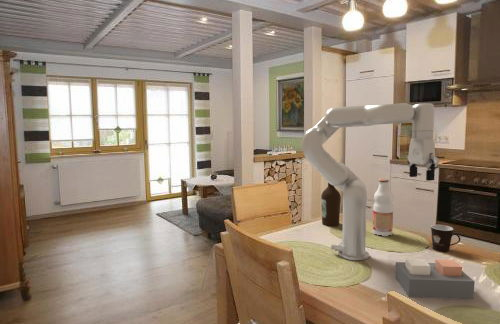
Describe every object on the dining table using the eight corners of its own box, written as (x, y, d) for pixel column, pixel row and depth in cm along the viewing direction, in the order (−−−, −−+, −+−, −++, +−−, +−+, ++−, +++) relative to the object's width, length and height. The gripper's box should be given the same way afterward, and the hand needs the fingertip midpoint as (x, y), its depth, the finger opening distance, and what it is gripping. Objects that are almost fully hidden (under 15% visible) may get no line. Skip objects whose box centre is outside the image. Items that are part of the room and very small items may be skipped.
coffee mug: (425, 246, 158) (426, 225, 157) (443, 245, 159) (445, 224, 158) (442, 256, 147) (443, 233, 146) (461, 255, 148) (462, 232, 146)
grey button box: (408, 296, 113) (409, 279, 113) (395, 277, 127) (395, 262, 127) (473, 299, 111) (474, 281, 111) (452, 279, 125) (453, 263, 125)
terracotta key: (442, 279, 116) (443, 266, 115) (434, 271, 122) (435, 259, 121) (461, 279, 115) (462, 266, 115) (452, 272, 121) (453, 259, 120)
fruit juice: (381, 237, 171) (383, 181, 168) (368, 232, 179) (370, 178, 176) (396, 235, 174) (398, 180, 171) (383, 230, 183) (384, 177, 180)
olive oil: (336, 220, 201) (337, 178, 198) (343, 226, 190) (343, 181, 187) (318, 221, 200) (319, 178, 197) (324, 227, 189) (324, 181, 186)
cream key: (411, 278, 117) (411, 265, 116) (405, 270, 123) (405, 258, 122) (429, 278, 116) (430, 266, 116) (422, 271, 122) (423, 259, 122)
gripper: (400, 135, 144) (399, 176, 145) (430, 136, 127) (428, 182, 129) (416, 134, 145) (415, 174, 147) (447, 135, 128) (446, 181, 130)
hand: (421, 178), depth 138 cm, fingers open, 9 cm apart
